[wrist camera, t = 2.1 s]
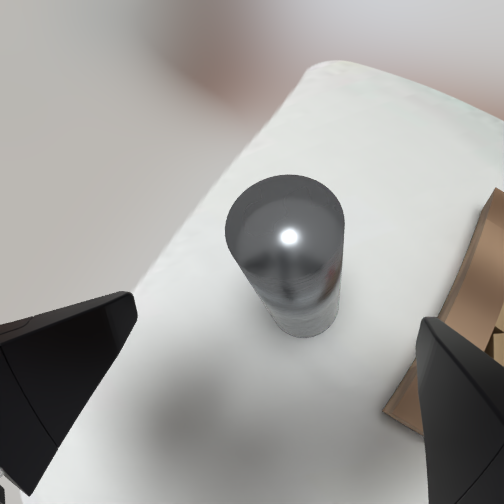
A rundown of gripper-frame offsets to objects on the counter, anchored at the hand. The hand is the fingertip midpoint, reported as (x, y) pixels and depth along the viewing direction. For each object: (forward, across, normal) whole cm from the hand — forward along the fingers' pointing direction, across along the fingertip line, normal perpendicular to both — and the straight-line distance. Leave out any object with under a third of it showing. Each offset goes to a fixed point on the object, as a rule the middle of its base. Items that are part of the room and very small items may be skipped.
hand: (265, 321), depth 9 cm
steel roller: (+10, 0, +5) cm, 11 cm away
